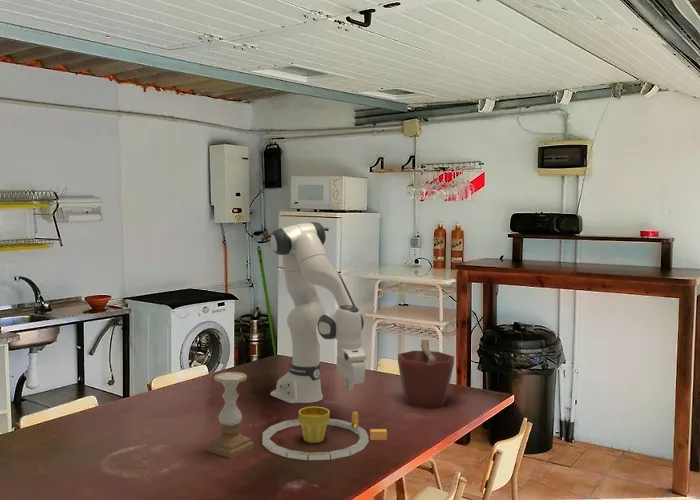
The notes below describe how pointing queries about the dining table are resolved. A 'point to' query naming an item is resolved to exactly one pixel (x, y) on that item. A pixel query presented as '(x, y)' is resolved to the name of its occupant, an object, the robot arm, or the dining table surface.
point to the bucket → (425, 376)
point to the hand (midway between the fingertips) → (349, 389)
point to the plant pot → (314, 423)
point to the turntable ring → (317, 455)
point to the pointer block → (378, 434)
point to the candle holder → (230, 420)
